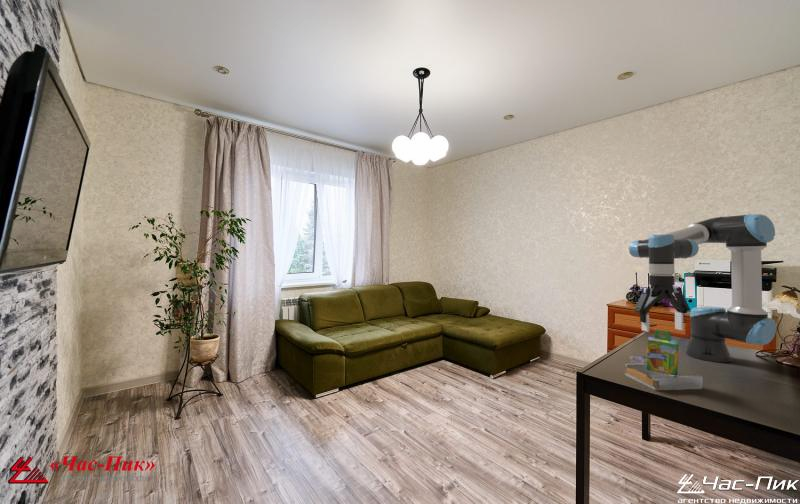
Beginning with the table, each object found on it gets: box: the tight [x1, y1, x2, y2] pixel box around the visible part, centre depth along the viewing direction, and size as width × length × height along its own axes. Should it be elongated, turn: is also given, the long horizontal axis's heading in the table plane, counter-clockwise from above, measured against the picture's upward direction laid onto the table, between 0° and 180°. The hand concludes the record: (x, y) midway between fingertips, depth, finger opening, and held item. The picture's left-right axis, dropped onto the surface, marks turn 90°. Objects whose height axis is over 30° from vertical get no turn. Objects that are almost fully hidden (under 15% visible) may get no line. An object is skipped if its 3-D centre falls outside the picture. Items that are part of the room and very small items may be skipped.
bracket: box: [624, 363, 704, 391], centre depth 120 cm, size 18×14×4 cm
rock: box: [629, 354, 647, 364], centre depth 134 cm, size 8×11×5 cm
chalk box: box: [646, 329, 680, 376], centre depth 120 cm, size 9×9×15 cm
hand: (662, 330), depth 120 cm, fingers open, 13 cm apart
